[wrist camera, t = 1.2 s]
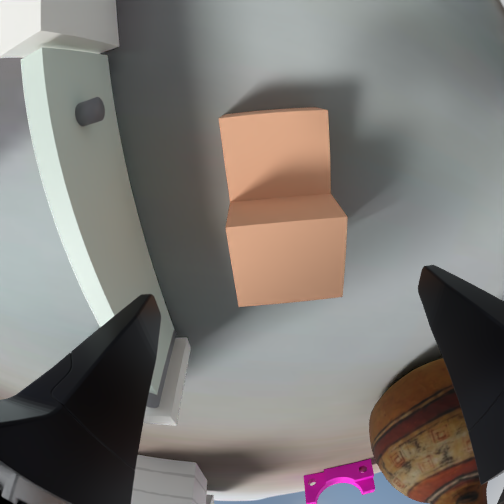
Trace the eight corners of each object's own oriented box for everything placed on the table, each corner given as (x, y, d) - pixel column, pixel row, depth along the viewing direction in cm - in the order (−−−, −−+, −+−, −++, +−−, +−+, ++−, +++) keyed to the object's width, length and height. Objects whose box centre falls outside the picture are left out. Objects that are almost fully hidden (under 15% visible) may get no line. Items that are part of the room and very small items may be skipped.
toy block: (370, 458, 49) (376, 486, 42) (368, 465, 52) (373, 491, 45) (302, 472, 51) (304, 501, 44) (305, 478, 54) (307, 505, 47)
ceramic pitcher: (475, 312, 27) (573, 522, 1) (483, 376, 35) (537, 516, 9) (338, 393, 33) (371, 613, 7) (385, 431, 41) (414, 576, 15)
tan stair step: (319, 240, 23) (342, 296, 17) (241, 247, 23) (238, 306, 17) (315, 107, 18) (346, 114, 12) (224, 114, 18) (210, 124, 12)
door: (189, 338, 27) (175, 409, 20) (162, 338, 27) (143, 407, 20) (122, 50, 15) (54, 36, 8) (88, 62, 15) (13, 60, 8)
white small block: (191, 348, 29) (176, 425, 21) (163, 348, 29) (144, 422, 21) (115, -21, 12) (46, -60, 4) (79, -6, 12) (3, -31, 4)
